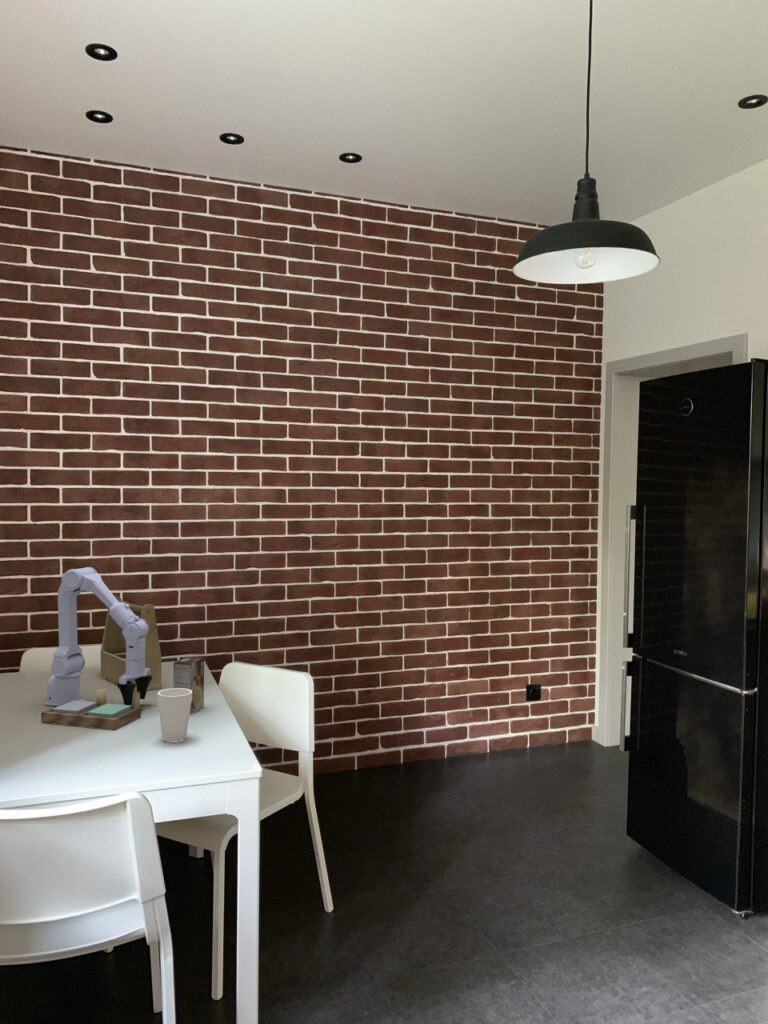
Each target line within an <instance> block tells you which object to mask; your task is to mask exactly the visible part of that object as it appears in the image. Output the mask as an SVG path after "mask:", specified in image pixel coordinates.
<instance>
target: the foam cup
mask: <svg viewBox="0 0 768 1024" xmlns="http://www.w3.org/2000/svg"><path fill="white" fill-rule="evenodd" d="M191 701H192V690H190V689H185V688H165V689H161V690H159V691H158V692H157V703H158V712H159V713H158V714H159V720H160V721H159V722H160V730H161V731H160V732H161V738H162V739H163V740H164V741H168V742H167V743H176V742H175V741H180V740H184V739H185V738H186V739H187V735H188V725H189V720H190V708H191ZM186 739H185V740H186ZM163 740H162V741H163ZM185 740H184V741H185ZM164 741H163V742H164ZM173 741H174V742H173ZM180 742H181V741H180Z"/></svg>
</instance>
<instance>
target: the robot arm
mask: <svg viewBox="0 0 768 1024" xmlns="http://www.w3.org/2000/svg"><path fill="white" fill-rule="evenodd" d="M83 591H84V592H91V593H93V594H94V595H95V596H96V598H98V599H99V600H100V602H102V603H103V604H104V605H105V606H106V607H107V609H108V608H109V609H110V612H109V614H110V616H111V617H112V618H113V619H114V620H115V621H116V623H117V624H118V625H119V626H120V627H121V628H122V629H123V631H122V633H123V636H124V638H125V639H126V673H125V674H124V675H123V676H122V677H120V678H119V682H118V683H117V684H116V686H117V688H118V689H119V691H120V693H121V696H122V701H123V705H131V704H132V699H133V692H134V689H135V686H136V687H137V692H140V700H145V699H146V695H147V691H148V690H147V688H148V686H149V683H150V681H151V680H152V676H149V674H150V668H145V636H146V635H147V634H148V632H149V626H148V624H147V622H146V621H145V620H143V619H140V617H139V615H136V614H135V613H134V611H131V610H130V608H129V607H130V606H129V605H128V604H125V603H124V602H118V601H117V599H116V598H115V597H114V596H115V595H114V594H113V593H112V592H111V591H110V589H109V588H108V586H107V585H106V584H105V582H104V581H103V579H102V576H101V574H99V573H98V572H97V570H96V569H95V568H94V567H91V566H86V567H82V568H71V569H68V570H67V571H65V572H64V573H63V574H62V575H61V583H60V585H59V587H58V591H57V608H58V610H57V612H58V613H57V614H58V615H57V617H58V620H57V621H58V648H56V650H55V652H54V654H53V658H52V662H51V665H50V669H51V672H52V674H53V675H51V676H50V677H49V678H48V681H47V684H46V702H45V704H44V705H46V706H54V707H56V706H59V705H61V704H64V703H66V702H69V701H73V700H76V701H87V700H86V699H84V698H83V699H81V698H80V697H81V696H80V695H81V674H82V671H83V670H84V668H85V665H86V659H85V658H84V657H85V656H84V655H83V649H82V648H81V647H80V646H79V645H78V616H77V614H78V612H77V606H78V605H77V597H78V596H80V595H81V593H82V592H83ZM134 679H135V682H136V684H133V683H132V682H131V681H132V680H134Z"/></svg>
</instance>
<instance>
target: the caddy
mask: <svg viewBox="0 0 768 1024" xmlns="http://www.w3.org/2000/svg"><path fill="white" fill-rule="evenodd" d="M114 597H115V598H116V599H117V601H118V602H124V603H125V604H128V605H129V606H130V607H129V608H130V610H131V611H132V612H133V613H134V612H135V613H137V614H140V615H139V616H140V617H139V619H143V620H145V621H146V622H147V624H148V626H149V632H148V634H147V635H146V636H145V668H150V674H149V676H152V680H151V681H150V683H149V686H148V688H147V691H151V689H152V690H157V689H161V688H162V668H163V667H162V664H163V663H162V661H163V660H162V651H161V646H160V640H159V639H160V638H159V633H158V632H159V631H158V623H157V618H156V611H155V606H154V605H153V604H151V603H149V604H147V603H146V604H143V605H138V604H134V603H130V602H128V601H124V600H122V599H121V597H120V596H118V595H114ZM109 612H110V609H109V608H108V607H107V613H106V618H105V625H104V630H103V636H102V642H101V647H100V677H101V676H102V677H104V678H105V679H104V678H103V679H104V680H106V679H107V680H106V681H108V680H109V681H108V682H110V681H111V682H110V683H112V682H114V683H113V684H115V683H116V684H115V685H117V683H118V682H119V678H120V677H122V676H123V675H124V674H125V673H126V639H125V638H124V636H123V633H122V631H123V629H122V628H121V627H120V626H119V625H118V624H117V623H116V621H115V620H114V619H113V618H112V617H111V616H110V614H109ZM102 677H101V678H102ZM131 682H132V683H133V684H136V682H135V679H134V680H132V681H131ZM134 692H137V687H136V686H135V689H134Z"/></svg>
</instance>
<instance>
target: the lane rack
mask: <svg viewBox="0 0 768 1024" xmlns="http://www.w3.org/2000/svg"><path fill="white" fill-rule="evenodd" d="M69 702H71V701H69ZM69 702H66V703H69ZM66 703H64V704H66ZM64 704H61V705H64ZM61 705H59V706H61ZM103 705H105V704H102V705H100V706H103ZM59 706H54V707H52V708H49V709H46V710H44V711H41V712H40V722H46V723H45V724H50V723H56V724H55V725H60V724H67V725H66V726H69V725H75V726H74V727H79V726H84V727H83V728H89V727H94V728H93V729H98V728H101V729H102V730H108V729H112V730H111V731H117V730H118V728H119V729H120V727H121V728H122V726H123V727H124V725H125V726H127V725H128V723H129V724H130V722H131V723H132V721H133V722H135V721H136V719H137V720H139V719H141V718H142V707H141V706H140V707H136V708H134V709H132V710H129V711H127V712H125V713H123V714H121V715H119V716H117V717H115V718H110V717H100V716H89V715H88V712H89V711H91V710H93V709H96V708H98V707H100V706H97V707H95V708H93V709H90V710H88V711H86V712H83V713H81V714H69V713H59V712H53V709H54V708H56V707H59ZM140 717H141V718H140ZM138 718H139V719H138ZM134 720H135V721H134ZM126 724H127V725H126ZM101 729H100V730H101ZM116 729H117V730H116Z"/></svg>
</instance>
